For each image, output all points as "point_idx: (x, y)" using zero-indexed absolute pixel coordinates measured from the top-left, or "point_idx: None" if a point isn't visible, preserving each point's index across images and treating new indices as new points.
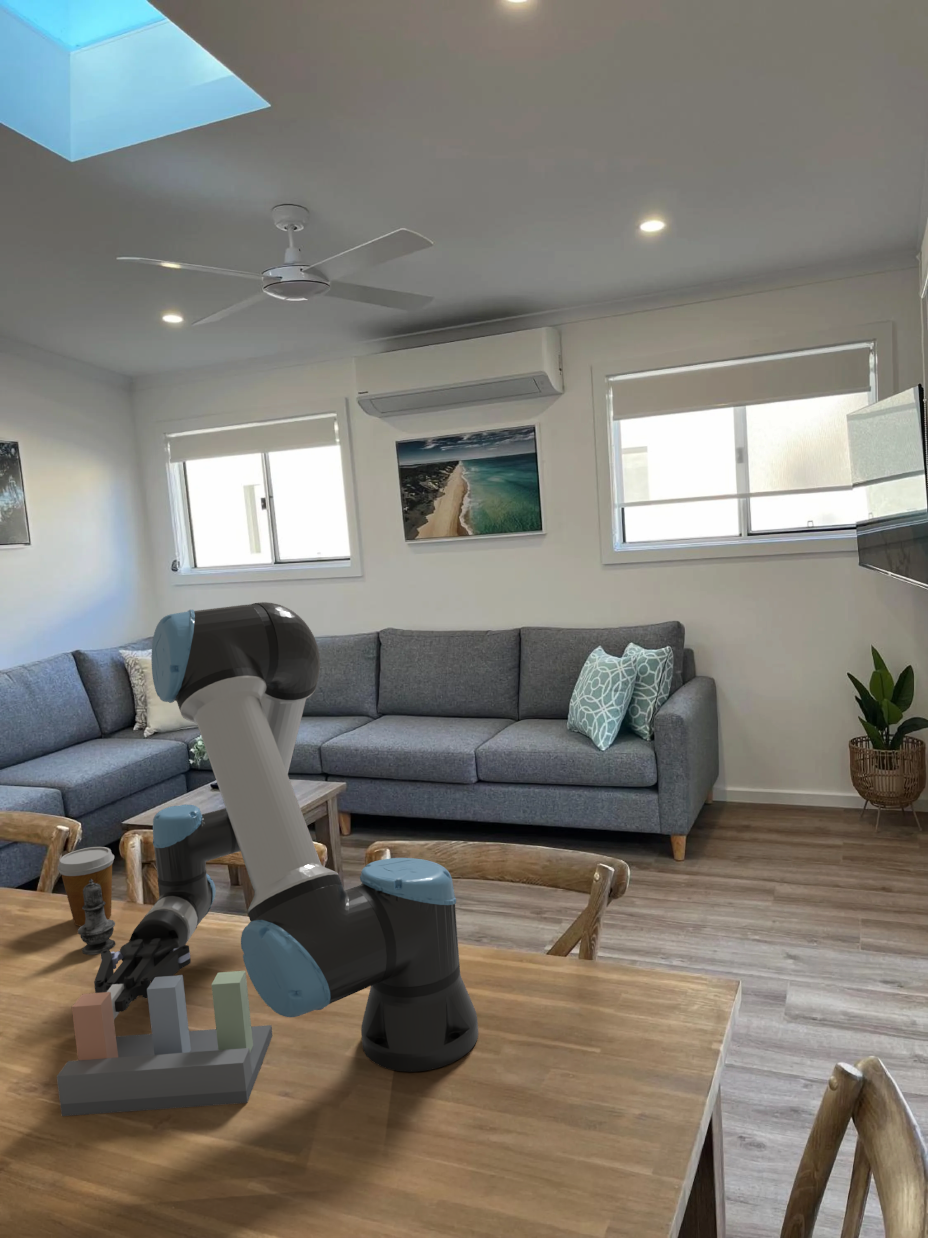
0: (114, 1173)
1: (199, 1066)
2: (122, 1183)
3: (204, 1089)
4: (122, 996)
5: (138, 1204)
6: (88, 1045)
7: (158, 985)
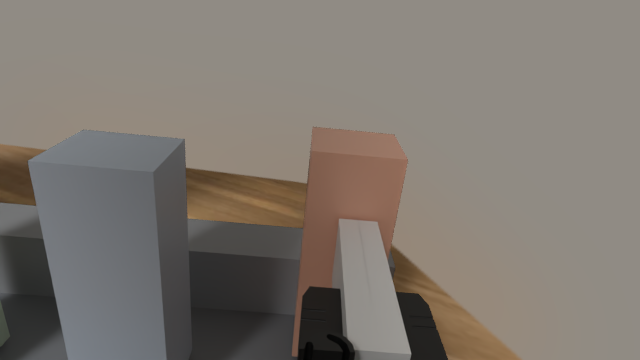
0: (235, 211)
1: None
2: (222, 201)
3: None
4: (322, 312)
5: (198, 183)
6: None
7: (141, 141)
